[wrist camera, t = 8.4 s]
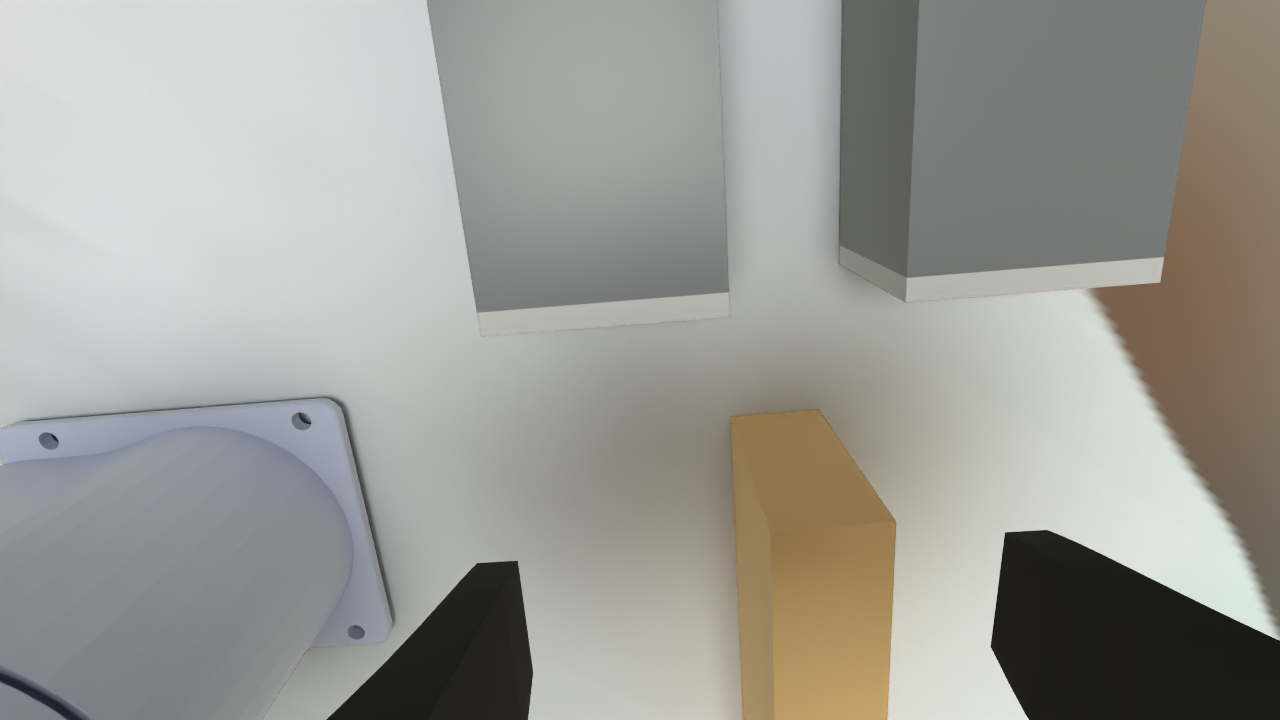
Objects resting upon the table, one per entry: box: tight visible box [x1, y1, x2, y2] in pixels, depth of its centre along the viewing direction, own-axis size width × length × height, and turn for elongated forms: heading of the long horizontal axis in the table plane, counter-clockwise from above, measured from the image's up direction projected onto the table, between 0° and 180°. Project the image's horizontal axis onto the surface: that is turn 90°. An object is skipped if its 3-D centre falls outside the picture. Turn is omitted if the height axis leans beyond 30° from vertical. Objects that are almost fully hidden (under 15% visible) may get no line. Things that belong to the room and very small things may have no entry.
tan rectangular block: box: [730, 409, 896, 720], centre depth 18 cm, size 2×12×6 cm, turn 5°
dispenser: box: [427, 0, 1206, 337], centre depth 14 cm, size 14×12×4 cm
